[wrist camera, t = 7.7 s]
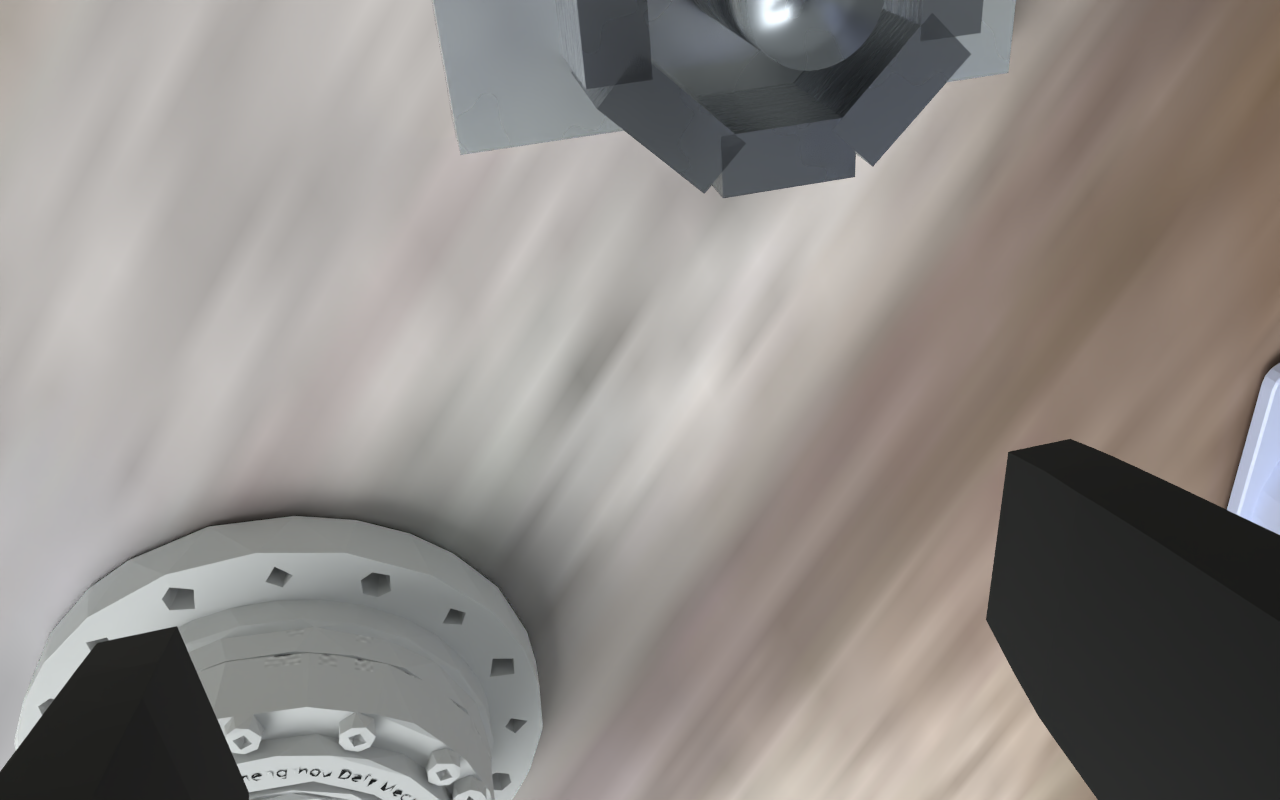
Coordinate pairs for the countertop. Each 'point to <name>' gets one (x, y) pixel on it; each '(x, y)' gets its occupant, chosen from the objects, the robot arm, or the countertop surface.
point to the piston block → (714, 77)
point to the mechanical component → (328, 658)
